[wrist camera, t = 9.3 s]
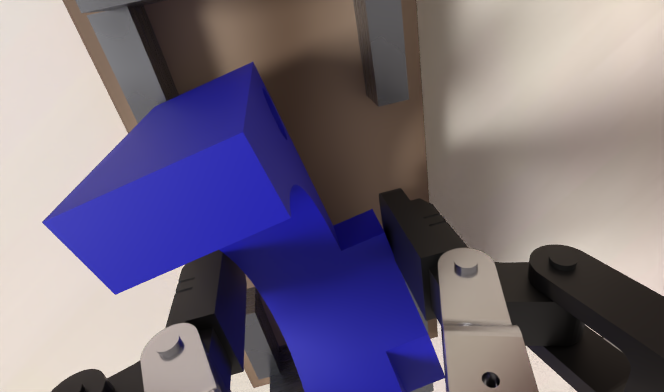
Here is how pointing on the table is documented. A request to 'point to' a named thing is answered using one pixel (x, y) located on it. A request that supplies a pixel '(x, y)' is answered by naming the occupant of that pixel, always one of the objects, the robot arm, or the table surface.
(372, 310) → the blue curved cradle
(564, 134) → the table surface
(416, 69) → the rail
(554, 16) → the table surface
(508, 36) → the table surface
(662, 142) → the table surface
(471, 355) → the robot arm
